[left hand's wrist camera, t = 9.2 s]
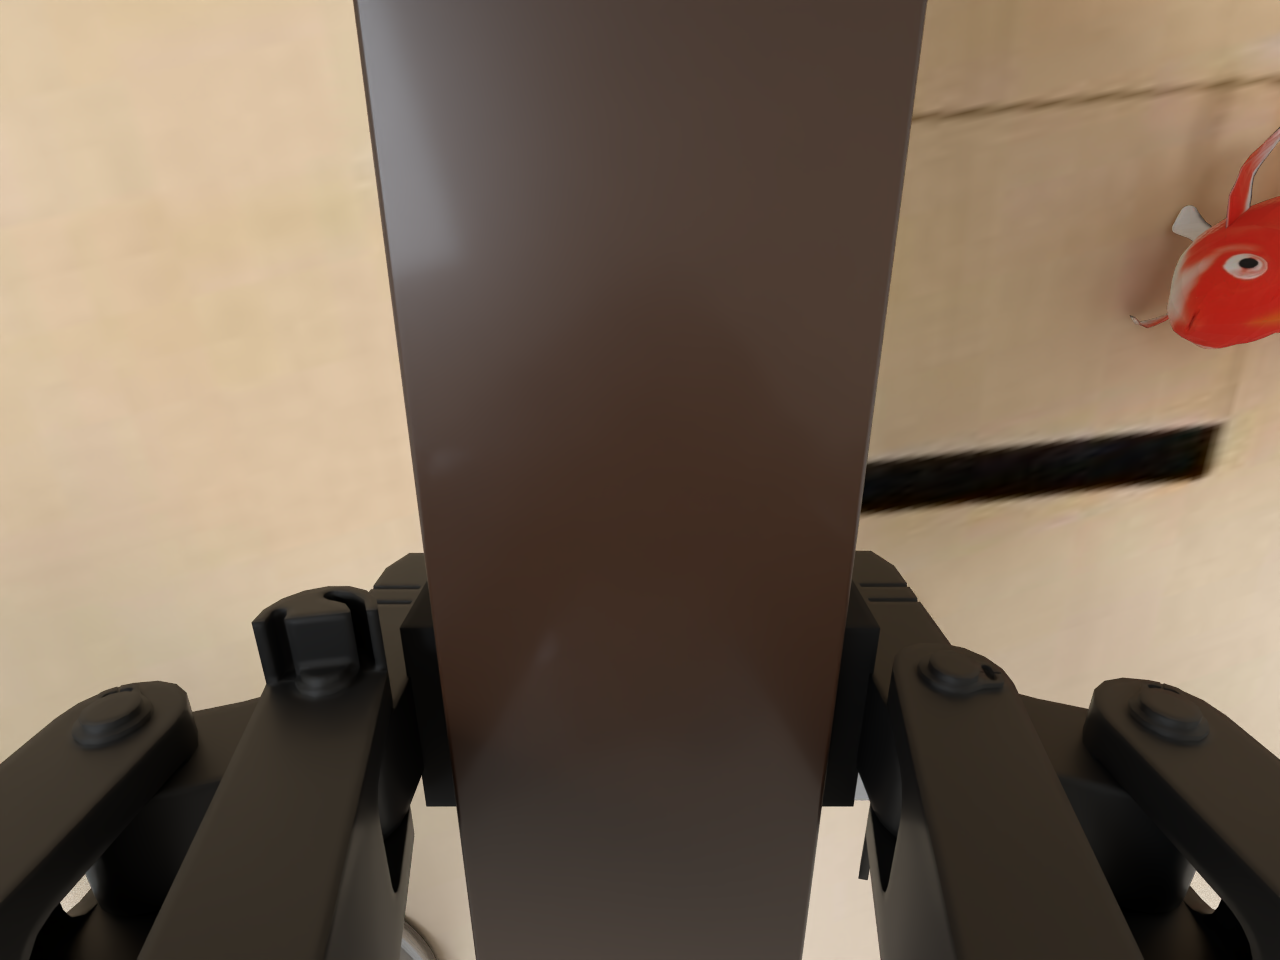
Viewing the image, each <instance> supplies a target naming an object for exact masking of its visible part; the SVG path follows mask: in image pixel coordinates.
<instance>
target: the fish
mask: <svg viewBox="0 0 1280 960" xmlns="http://www.w3.org/2000/svg"><path fill="white" fill-rule="evenodd" d="M1279 141H1280V127H1279V128H1278V129H1277V130H1276V131H1275V132H1274V133H1273V134H1272V135H1271V136H1270V137H1269V138H1268V139H1267V140H1266V141H1265V142H1264V143H1263V144H1262V145H1261V146H1260V147H1259V148H1258V149H1257V150H1256V151H1255V152H1253V153H1252V154H1251V155H1250V157H1249V158H1248V159H1247V161H1246V162H1245V163H1244V165H1243V166H1242V167H1241V169H1240V172H1239V175H1238V178H1237V180H1236V182H1235V184H1234V186H1233V188H1232V190H1231V192H1230V195H1229V201H1228V209H1227V218H1226V219H1224V220H1222V221H1221V222H1219V223H1217V224H1216V225H1214V226H1211V225H1209V224H1208V223H1206V221H1205V220H1204V219H1203V218H1202V217H1201V215H1200V214H1199V212H1198V211H1197V209H1196V207H1194V206H1185V207H1183V208H1182V210H1181V211H1180V213H1179V215H1178V217H1177V218H1176V220H1175V222H1174V224H1173V226H1172V231H1173V232H1174V233H1176V234H1178V235H1181V236H1184V237H1187V238H1189V239H1190V240H1192V241H1193V242H1192V243H1191V245H1190V246H1189V247H1188V248H1187V249H1186V250H1185V251H1184V253H1183V254H1182V255H1181V257H1180V259H1179V261H1178V263H1177V265H1176V267H1175V271H1174V275H1173V278H1172V284H1171V290H1170V295H1169V301H1168V305H1167V312H1168V314H1166V315H1163V316H1160V317H1157V318H1154V319H1150V320H1146V321H1142V322H1139V321H1138V320H1137V319H1136V318H1135V317H1133V316H1130V317H1131V318H1132V320H1133V321H1134V323H1135V324H1138V325H1142V326H1144V327H1146V328H1149V327H1152V326H1155V325H1158V324H1160V323H1162V322H1164V321H1166V320H1167V319H1169V320H1170V324H1171V326H1172V329H1173V331H1175V332H1176V333H1177V334H1179V335H1180V336H1181V337H1183V338H1185V339H1187V340H1189V341H1191V342H1192V343H1194V344H1196V345H1197V346H1199V347H1202V348H1207V349H1217V348H1223V347H1228V346H1231V345H1235V344H1242V343H1248V342H1252V341H1256V340H1259V339H1261V338H1264V337H1266V336H1269V335H1271V334H1273V333H1280V196H1279V197H1275V198H1272V199H1269V200H1266V201H1264V202H1261V203H1258V204H1255V205H1253V206H1250V203H1251V198H1252V185H1253V179H1254V176H1255V174H1256V172H1257V170H1258V169H1259V167H1260V166H1261V164H1262V163H1263V161H1264V160H1265V159H1266V157H1267V156H1268V155H1269V154H1270V152H1271V151H1272V150H1273V148H1274V147H1275V146H1276V144H1277V143H1278V142H1279Z"/></svg>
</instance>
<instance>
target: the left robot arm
mask: <svg viewBox="0 0 1280 960" xmlns="http://www.w3.org/2000/svg"><path fill="white" fill-rule="evenodd" d="M252 626H253V630H254V634H255V639H256V643H257V647H258V651H259V655H260V659H261V663H262V667H263V671H264V675H265V680H266V686H265V688H264V691H263V693H262V695H261V697H259V698H255V699H251V700H248V701H244V702H239V703H234V704H229V705H224V706H219V707H215V708H210V709H205V710H200V711H195V712H192V710H191V706H190V703H189V700H188V696H187V693H186V692H185V691H184V690H183V689H182V688H180V687H179V686H178V685H177V684H173V683H167V682H162V681H151V682H140V683H132V684H127V685H122V686H121V687H115V688H112V689H108V690H105V691H103V692H101V693H99V694H98V695H96V696H93V697H91V698H89V699H87V700H85V701H82V702H80V703H78V704H77V705H75V706H74V707H72V708H71V709H69V710H68V711H66V712H65V713H63V714H62V715H60V716H59V717H57V718H56V719H54V720H53V721H52V722H51V723H49V724H48V725H47V726H46V727H45V728H43V729H42V730H41V731H40V732H39V733H37V734H36V735H35V736H34V737H33V738H31V739H30V740H29V741H28V742H26V743H25V744H24V745H23V746H22V747H20V748H19V749H18V750H17V751H16V752H14V753H13V754H12V755H11V756H10V757H8V758H7V759H6V760H5V761H4V762H2V763H1V764H0V960H436V959H435V956H434V954H433V952H432V951H431V949H430V948H429V946H428V944H427V943H426V942H425V940H424V939H423V938H422V937H421V936H420V935H419V934H418V932H417V931H416V930H415V929H414V928H413V927H411V926H410V925H409V924H408V923H407V922H405V921H404V918H405V909H406V901H407V892H408V884H409V876H410V867H411V859H412V850H413V842H414V828H413V821H412V814H411V808H410V804H411V801H412V799H413V796H414V793H415V791H416V788H417V786H418V783H419V781H420V778H421V775H422V780H423V786H424V793H425V800H426V806H456V799H455V791H454V783H453V775H452V768H451V760H450V752H449V744H448V737H447V729H446V721H445V713H444V705H443V698H442V690H441V682H440V674H439V666H438V659H437V651H436V643H435V635H434V627H433V620H432V612H431V604H430V596H429V589H428V581H427V573H426V565H425V557H424V553H409V554H407V555H406V556H404V557H403V558H401V559H400V560H398V561H396V562H395V563H393V564H392V565H390V566H389V567H387V568H386V569H385V571H384V572H383V573H382V575H381V576H380V578H379V579H378V580H377V582H376V583H375V584H374V588H373V589H371V590H370V591H369V592H368V591H366V590H363V589H359V588H355V587H351V586H328V587H322V588H317V589H311V590H306V591H302V592H300V593H297V594H294V595H291V596H289V597H286V598H283V599H281V600H279V601H278V602H276V603H274V604H272V605H271V606H269V607H267V608H266V609H264V610H263V611H262V612H261V613H260V614H259V615H258V616H257V617H256V618H255V619H254V620H253V622H252ZM858 773H859V775H860V777H861V780H862V782H863V785H864V788H865V790H866V793H867V795H868V798H869V800H870V808H869V814H868V820H867V827H866V833H865V839H864V845H863V851H862V857H861V863H860V871H859V878H858V879H864V880H868V875H869V870H870V874H871V882H872V891H873V899H874V908H875V916H876V924H877V933H878V941H879V950H880V958H881V960H1280V759H1279V758H1277V757H1276V756H1275V755H1274V754H1272V753H1271V752H1270V751H1269V750H1268V749H1266V748H1265V747H1264V746H1263V745H1261V744H1260V743H1259V742H1258V741H1257V740H1255V739H1254V738H1253V737H1252V736H1250V735H1249V734H1248V733H1247V732H1246V731H1244V730H1243V729H1242V728H1241V727H1239V726H1238V725H1237V724H1236V723H1235V722H1233V721H1232V720H1231V719H1230V718H1229V717H1227V716H1226V715H1225V714H1223V713H1222V712H1220V711H1219V710H1217V709H1215V708H1214V707H1212V706H1211V705H1209V704H1208V703H1206V702H1205V701H1203V700H1202V699H1199V698H1197V697H1195V696H1193V695H1190V694H1188V693H1186V692H1184V691H1182V690H1180V689H1179V688H1176V687H1173V686H1170V685H1167V684H1160V682H1155V681H1150V680H1142V679H1131V678H1118V679H1113V680H1107V681H1104V682H1103V683H1101V684H1100V685H1099V686H1098V687H1097V688H1096V689H1094V693H1093V696H1092V699H1091V703H1090V706H1089V709H1086V708H1081V707H1076V706H1071V705H1066V704H1061V703H1056V702H1051V701H1046V700H1041V699H1036V698H1033V697H1029V696H1025V695H1021V694H1018V691H1017V689H1016V687H1015V685H1014V683H1013V682H1012V680H1011V679H1010V678H1009V677H1008V675H1007V674H1006V673H1005V672H1004V670H1003V669H1002V668H1000V667H999V666H997V665H996V664H994V663H993V662H992V661H990V660H989V659H987V658H986V657H984V656H982V655H979V654H977V653H974V652H972V651H970V650H967V649H965V648H961V647H957V646H952V645H951V644H950V643H949V641H948V640H947V638H946V637H945V636H944V634H943V633H942V632H941V630H940V629H939V627H938V626H937V625H936V623H935V622H934V620H933V619H932V618H931V616H930V615H929V614H928V612H927V611H926V609H925V608H924V607H923V605H922V604H921V602H918V601H917V597H916V596H915V594H914V593H913V591H912V590H911V589H910V587H907V583H906V582H905V580H904V579H903V577H902V576H901V575H900V573H899V572H898V571H897V569H896V568H895V566H894V565H892V564H890V563H889V562H887V561H886V560H884V559H883V558H881V557H880V556H878V555H876V554H875V553H873V552H872V551H855V557H854V565H853V572H852V580H851V587H850V595H849V603H848V610H847V618H846V626H845V633H844V641H843V649H842V656H841V664H840V671H839V679H838V687H837V694H836V702H835V710H834V717H833V725H832V733H831V740H830V748H829V755H828V763H827V771H826V778H825V786H824V794H823V801H822V806H854V799H855V792H856V786H857V779H858ZM1196 871H1197V872H1198V873H1199V874H1200V875H1201V876H1202V877H1203V878H1204V880H1205V881H1206V882H1207V883H1208V884H1209V885H1210V886H1211V887H1212V889H1213V890H1214V891H1215V892H1216V893H1217V894H1218V895H1219V897H1220V898H1221V901H1220V904H1219V906H1218V908H1217V909H1216V910H1214V909H1212V908H1211V907H1210V906H1209V905H1207V904H1206V903H1205V902H1204V901H1203V900H1202V899H1201V898H1200V897H1199V896H1198V894H1197V893H1196V892H1195V891H1194V890H1193V889H1192V887H1191V886H1190V884H1191V881H1192V879H1193V876H1194V874H1195V872H1196ZM84 874H86V877H87V879H88V881H89V884H90V886H91V889H90V890H89V891H88V893H87V894H86V895H85V896H84V897H83V898H82V900H81V901H80V902H79V903H78V904H76V905H75V906H74V907H73V908H72V909H71V910H69V911H68V912H67V913H66V912H65V911H64V910H63V908H62V906H61V904H60V902H61V901H62V900H63V898H64V897H65V896H66V895H67V894H68V893H69V892H70V890H71V889H72V888H73V887H74V886H75V885H76V884H77V882H78V881H79V880H80V879H81V878H82V877H83V876H84Z"/></svg>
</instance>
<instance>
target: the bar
mask: <svg viewBox="0 0 1280 960" xmlns="http://www.w3.org/2000/svg"><path fill="white" fill-rule="evenodd" d="M353 4H354V12H355V20H356V28H357V35H358V43H359V51H360V59H361V67H362V74H363V82H364V90H365V98H366V106H367V113H368V121H369V129H370V137H371V144H372V152H373V160H374V168H375V176H376V183H377V191H378V199H379V207H380V215H381V222H382V230H383V238H384V246H385V254H386V261H387V269H388V277H389V285H390V292H391V300H392V308H393V316H394V324H395V331H396V339H397V347H398V355H399V363H400V370H401V378H402V386H403V394H404V402H405V409H406V417H407V425H408V433H409V440H410V448H411V456H412V464H413V472H414V479H415V487H416V495H417V503H418V511H419V518H420V526H421V534H422V542H423V550H424V557H425V565H426V573H427V581H428V589H429V596H430V604H431V612H432V620H433V627H434V635H435V643H436V651H437V659H438V666H439V674H440V682H441V690H442V698H443V705H444V713H445V721H446V729H447V737H448V744H449V752H450V760H451V768H452V775H453V783H454V791H455V799H456V807H457V814H458V822H459V830H460V838H461V846H462V853H463V861H464V869H465V877H466V885H467V892H468V900H469V908H470V916H471V923H472V931H473V939H474V947H475V955H476V960H802V954H803V946H804V939H805V931H806V923H807V916H808V908H809V901H810V893H811V885H812V878H813V870H814V862H815V855H816V847H817V839H818V832H819V824H820V817H821V809H822V801H823V794H824V786H825V778H826V771H827V763H828V755H829V748H830V740H831V733H832V725H833V717H834V710H835V702H836V694H837V687H838V679H839V671H840V664H841V656H842V649H843V641H844V633H845V626H846V618H847V610H848V603H849V595H850V587H851V580H852V572H853V565H854V557H855V549H856V542H857V534H858V526H859V519H860V511H861V503H862V496H863V488H864V481H865V473H866V465H867V458H868V450H869V442H870V435H871V427H872V419H873V412H874V404H875V397H876V389H877V381H878V374H879V366H880V358H881V351H882V343H883V335H884V328H885V320H886V313H887V305H888V297H889V290H890V282H891V274H892V267H893V259H894V251H895V244H896V236H897V229H898V221H899V213H900V206H901V198H902V190H903V183H904V175H905V167H906V160H907V152H908V145H909V137H910V129H911V122H912V114H913V106H914V99H915V91H916V83H917V76H918V68H919V61H920V53H921V45H922V38H923V30H924V22H925V15H926V7H927V0H353Z"/></svg>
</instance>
